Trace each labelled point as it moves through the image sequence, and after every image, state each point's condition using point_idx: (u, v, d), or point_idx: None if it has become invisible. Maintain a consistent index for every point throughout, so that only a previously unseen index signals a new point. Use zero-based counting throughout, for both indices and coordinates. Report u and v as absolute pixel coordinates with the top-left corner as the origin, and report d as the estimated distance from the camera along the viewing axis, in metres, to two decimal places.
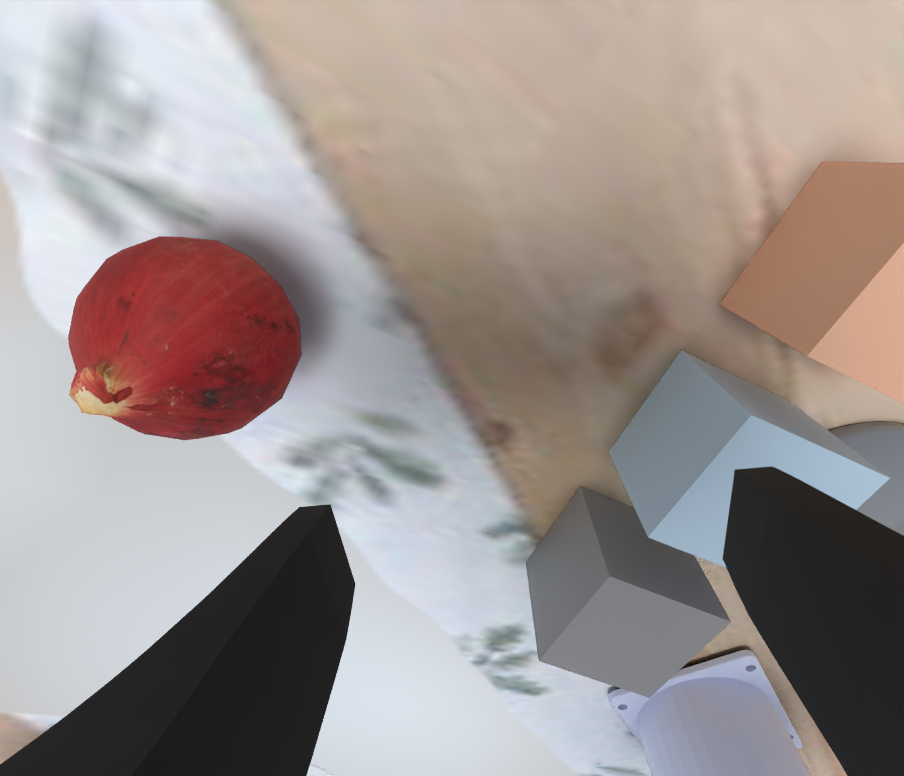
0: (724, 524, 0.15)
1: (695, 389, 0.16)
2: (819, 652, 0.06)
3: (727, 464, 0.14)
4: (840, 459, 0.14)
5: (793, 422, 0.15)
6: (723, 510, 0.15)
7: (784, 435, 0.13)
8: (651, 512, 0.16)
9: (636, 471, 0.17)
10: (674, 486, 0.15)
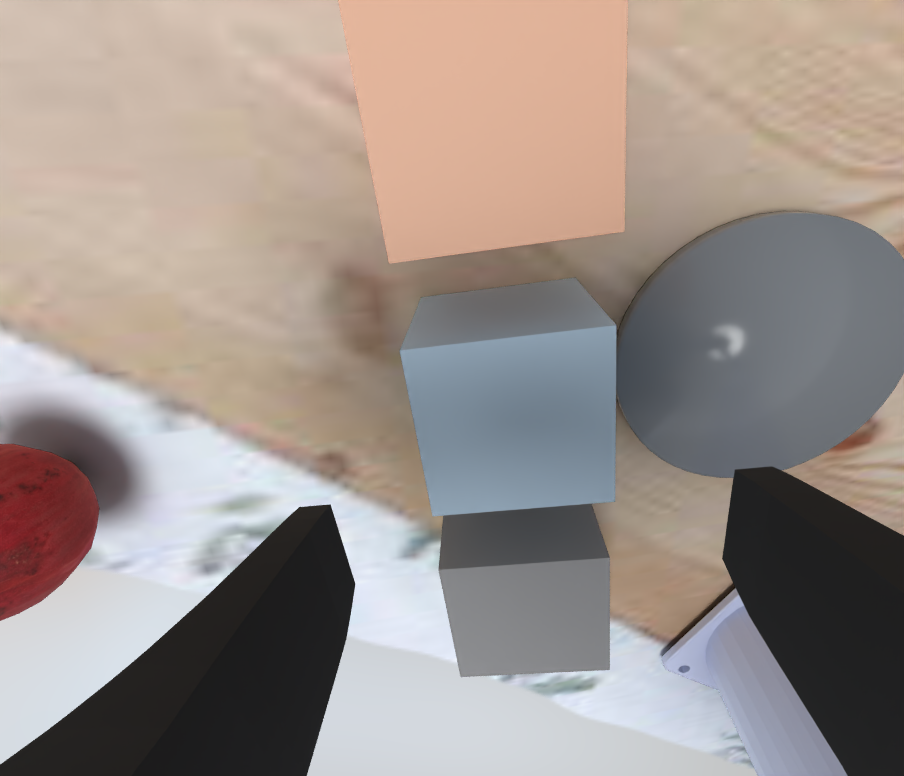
0: (491, 466, 0.12)
1: None
2: (819, 652, 0.06)
3: (429, 409, 0.12)
4: (537, 338, 0.11)
5: (504, 318, 0.12)
6: (476, 454, 0.12)
7: (452, 349, 0.11)
8: None
9: None
10: None
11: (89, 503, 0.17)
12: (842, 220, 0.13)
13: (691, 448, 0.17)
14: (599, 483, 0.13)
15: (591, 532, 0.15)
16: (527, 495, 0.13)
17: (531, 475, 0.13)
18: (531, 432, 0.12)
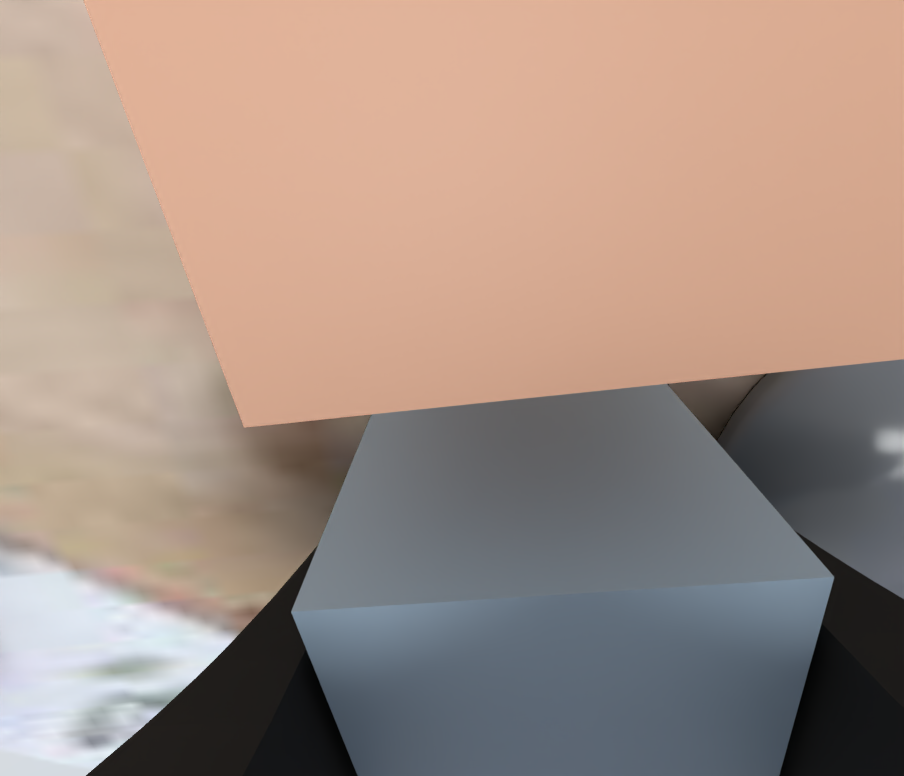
0: None
1: None
2: None
3: (370, 710, 0.05)
4: (628, 599, 0.04)
5: (535, 495, 0.06)
6: None
7: (417, 613, 0.05)
8: None
9: None
10: None
11: None
12: None
13: None
14: None
15: None
16: None
17: None
18: (596, 751, 0.05)
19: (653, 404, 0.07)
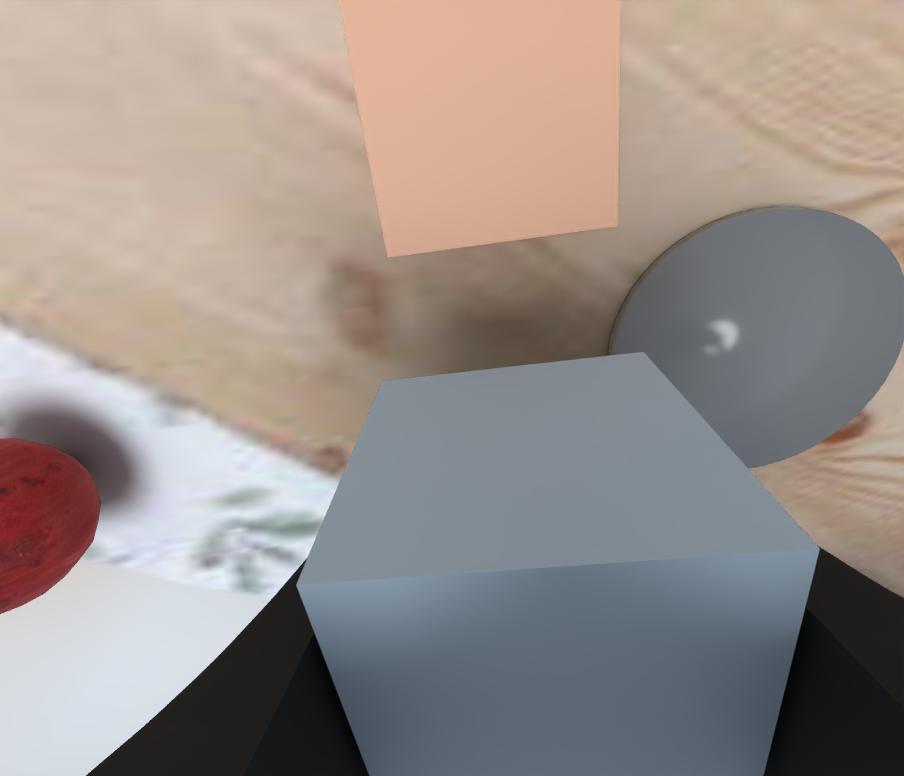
0: (504, 771, 0.06)
1: None
2: None
3: (373, 684, 0.05)
4: (621, 570, 0.05)
5: (532, 476, 0.06)
6: (474, 753, 0.06)
7: (418, 585, 0.05)
8: None
9: None
10: None
11: (91, 497, 0.17)
12: (832, 215, 0.14)
13: None
14: None
15: None
16: None
17: None
18: (591, 725, 0.06)
19: (648, 391, 0.07)
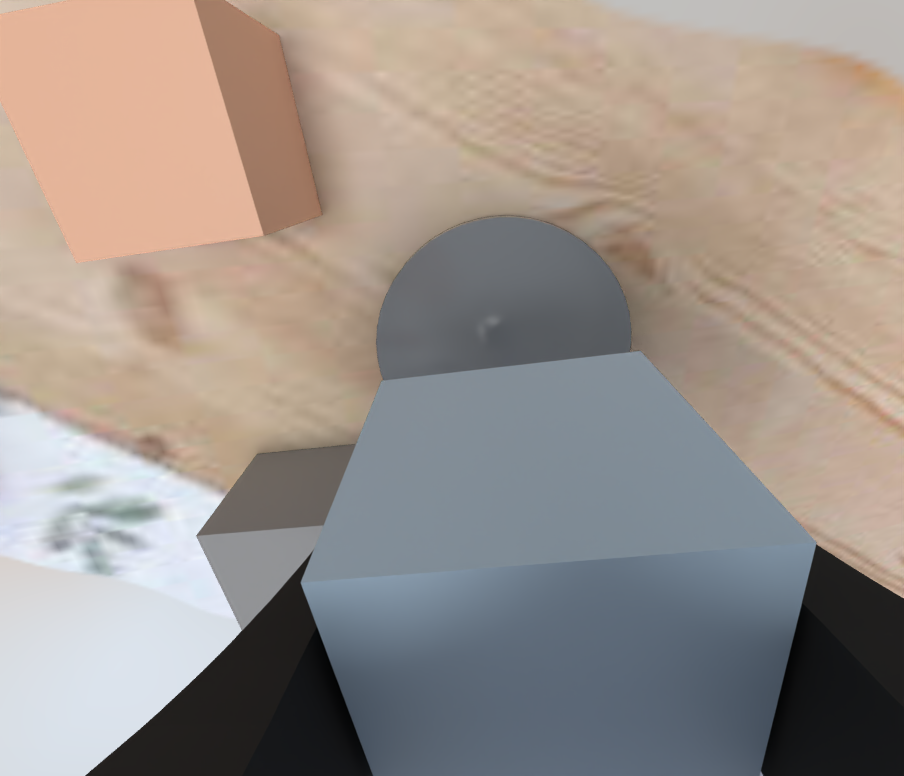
0: (507, 767, 0.06)
1: None
2: None
3: (377, 681, 0.05)
4: (623, 566, 0.05)
5: (533, 474, 0.06)
6: (476, 750, 0.06)
7: (422, 582, 0.05)
8: None
9: None
10: None
11: None
12: (540, 224, 0.15)
13: None
14: None
15: None
16: None
17: None
18: (593, 720, 0.06)
19: (646, 390, 0.07)
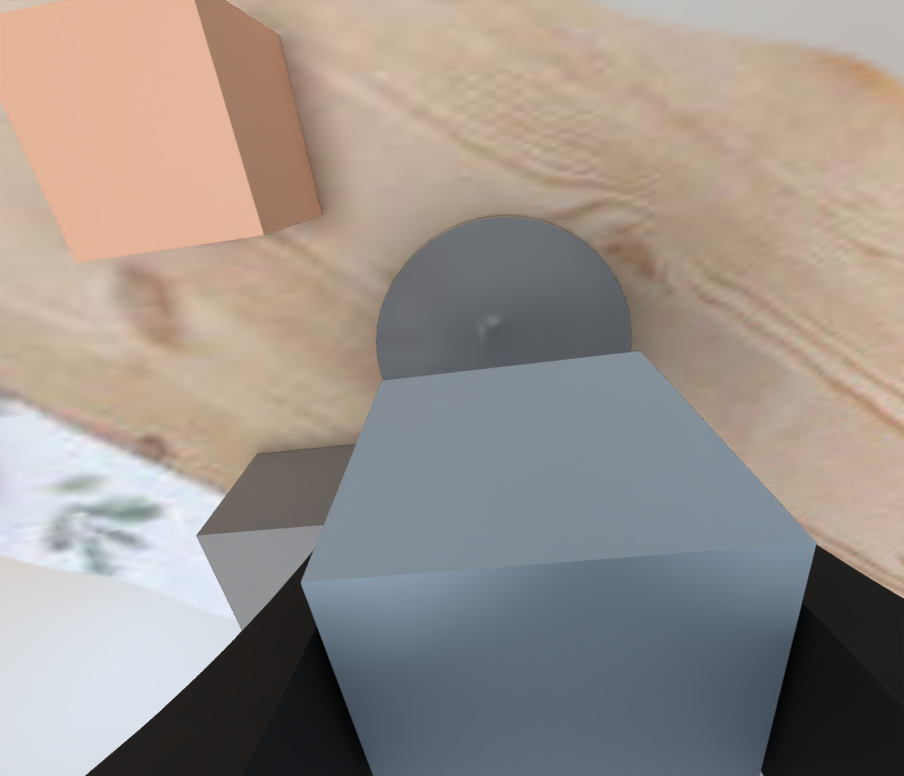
0: (507, 767, 0.06)
1: None
2: None
3: (377, 681, 0.05)
4: (623, 566, 0.05)
5: (533, 474, 0.06)
6: (476, 750, 0.06)
7: (422, 582, 0.05)
8: None
9: None
10: None
11: None
12: (540, 224, 0.15)
13: None
14: None
15: None
16: None
17: None
18: (593, 719, 0.06)
19: (646, 390, 0.07)
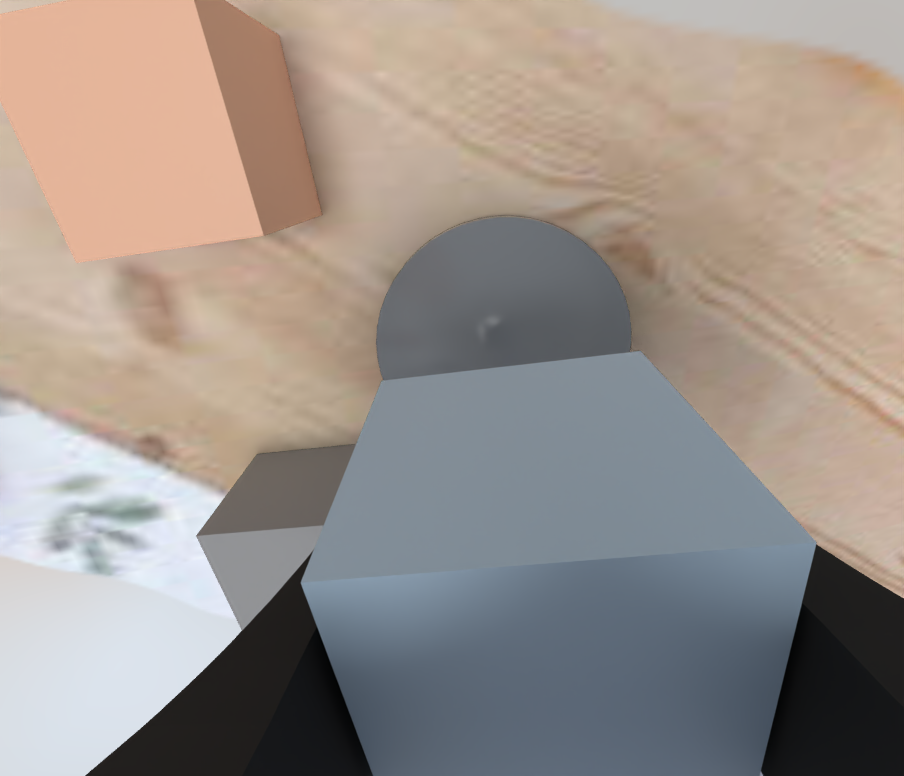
0: (507, 767, 0.06)
1: None
2: None
3: (377, 681, 0.05)
4: (623, 566, 0.05)
5: (533, 474, 0.06)
6: (476, 750, 0.06)
7: (422, 582, 0.05)
8: None
9: None
10: None
11: None
12: (540, 224, 0.15)
13: None
14: None
15: None
16: None
17: None
18: (593, 719, 0.06)
19: (646, 390, 0.07)
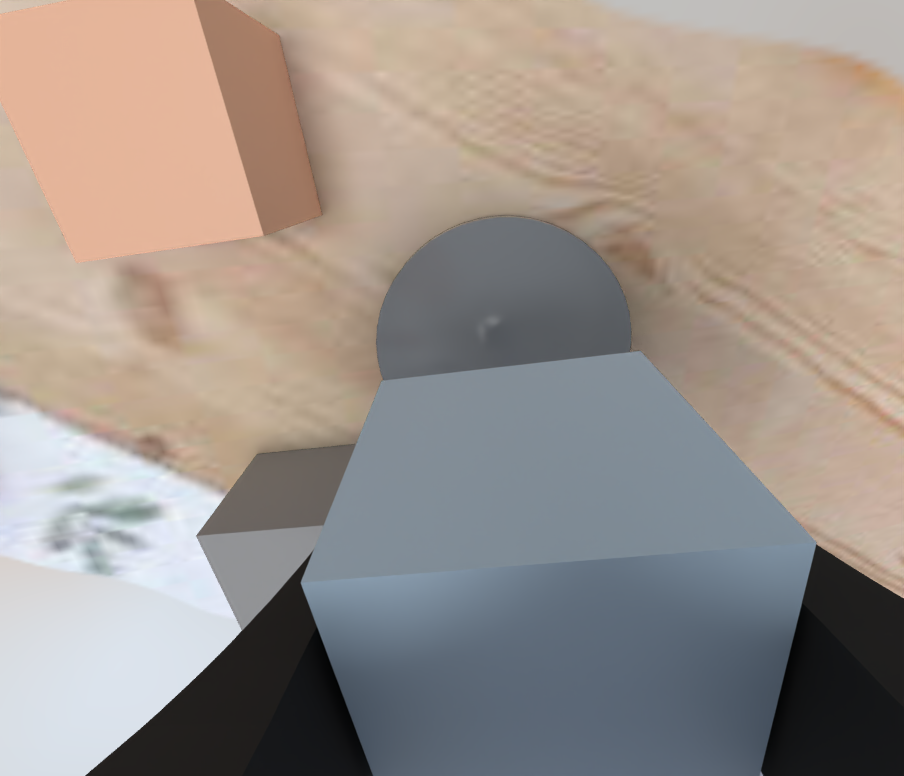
0: (507, 767, 0.06)
1: None
2: None
3: (377, 681, 0.05)
4: (623, 566, 0.05)
5: (533, 474, 0.06)
6: (476, 750, 0.06)
7: (422, 582, 0.05)
8: None
9: None
10: None
11: None
12: (540, 224, 0.15)
13: None
14: None
15: None
16: None
17: None
18: (593, 719, 0.06)
19: (646, 390, 0.07)
